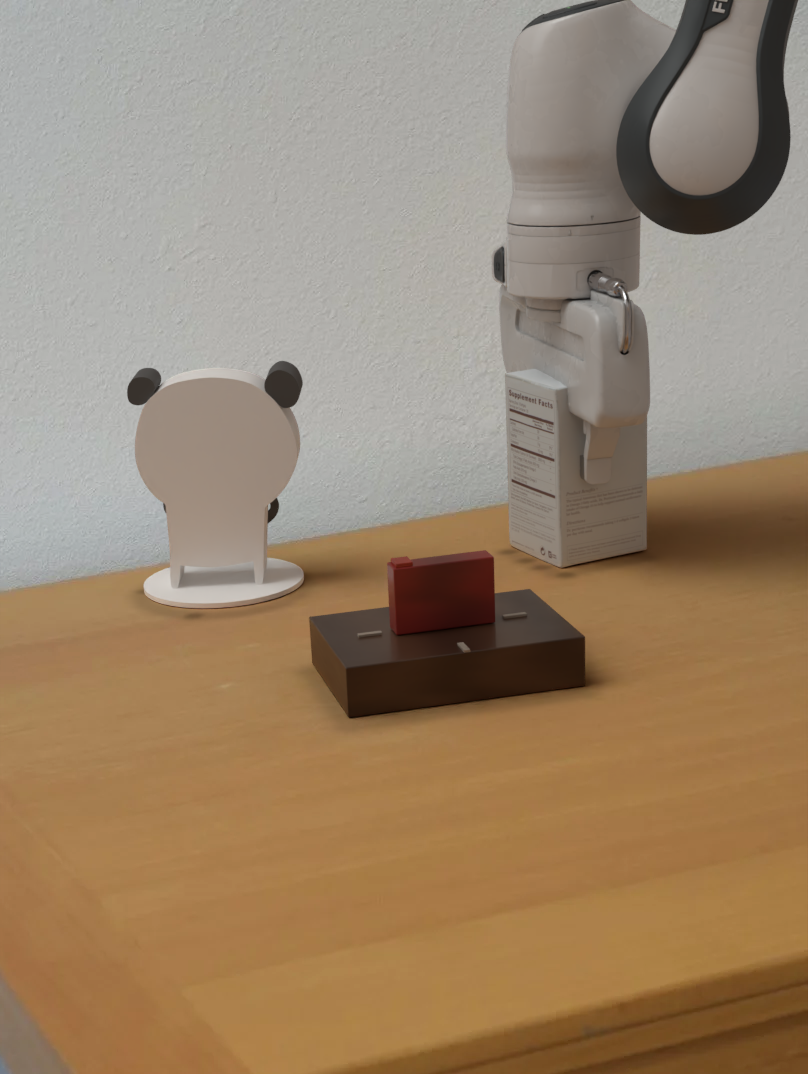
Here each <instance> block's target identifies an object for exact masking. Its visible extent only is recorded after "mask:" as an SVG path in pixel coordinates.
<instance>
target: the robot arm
mask: <svg viewBox="0 0 808 1074" xmlns="http://www.w3.org/2000/svg"><path fill="white" fill-rule="evenodd" d="M798 2H799V0H685V1H684V6H683V8H682V12H681V15H680V19H679V21H678V24H677V27H676V29H675V28H674V27H672V26H670V25H668V24H666V23H664V22H662V21H660V20H658V19H656V18H655V17H654V16H652V15H650V14H648V13H646V12H645V11H643V10H642V9H641V8H639V6H637V5H636V4H635V3H634V2H633V1H632V0H589V1H584V2H581V3H577V4H572V5H570V6H566V7H562V8H557V9H554V10H552V11H549V12H547V13H542V14H540V15H538V16H537V17H535V18H534V19H532V20H531V21H530V22H528V23H527V24H526V25H525V26H524V27H523V28H522V29H521V32H520V33H518V35H517V36H516V39H515V40H514V43H513V46H512V49H511V54H510V60H509V61H510V62H509V66H508V67H509V68H508V74H507V87H506V108H505V115H506V116H505V155H506V159H507V164H508V166H509V170H510V175H511V195H510V196H511V197H510V200H509V203H508V208H507V213H506V237H505V238H504V241H503V242H501V244H500V245H499V246H497V247H496V248H495V249H494V250H492V254H491V276H492V279H493V280H494V281H495V282H497V283H499V284H500V286H499V290H498V313H499V314H498V315H499V317H498V318H499V330H500V331H499V332H500V343H501V356H502V361H503V366H504V369H505V373H510V372H517V371H523V370H529V369H537V370H539V371H541V372H543V373H545V374H547V375H549V376H551V377H552V378H554V379H556V380H557V381H559V382H561V383H562V384H564V385H565V386H566V387H567V405H568V410H569V412H570V413H571V414H573V415H575V416H577V417H579V418H581V419H582V420H583V432H584V434H586V442H585V449H584V455H580V477H581V478H582V479H583V480H584V481H586V482H587V483H589V484H591V485H595V484H604V483H608V482H609V481H610V480H611V477H612V457H613V454H614V451H615V448H616V445H617V443H618V440H619V437H620V427H624V426H632V425H638V424H642V423H643V422H644V421H645V419H646V417H647V418H648V414H649V411H650V406H651V377H650V376H651V373H650V372H651V371H650V349H649V334H648V326H647V321H646V317H645V314H644V312H643V310H642V309H641V307H640V306H638V305H637V304H635V303H634V301H633V300H632V299H630V295H629V293H630V292H633V291H635V290H637V289H639V287H640V275H641V273H640V272H641V271H640V270H641V268H640V267H641V266H640V265H641V220H642V219H641V218H642V217H641V215H643V216H645V217H646V218H647V219H648V220H650V221H651V222H653V223H655V224H656V225H658V226H660V227H662V228H663V229H666V230H668V231H671V232H675V233H679V234H684V235H696V236H697V235H699V236H700V235H703V236H704V235H711V234H716V233H720V232H723V231H724V232H725V231H727V230H730V229H732V228H734V227H737V226H738V225H741V224H742V223H744V222H745V221H747V220H748V219H750V218H751V217H752V216H754V215H755V214H756V213H757V212H759V211H760V210H761V209H762V208H763V207H764V206H765V205H766V203H767V202H768V201H769V200H770V199H771V198H772V196H773V195H774V193H775V192H776V190H777V188H778V187H779V185H780V183H781V181H782V180H783V177H784V174H785V171H786V168H787V165H788V162H789V159H790V158H789V157H790V150H791V122H790V108H789V103H788V99H787V95H786V88H785V61H786V55H787V54H786V53H787V47H788V42H789V38H790V34H791V33H790V32H791V28H792V24H793V20H794V17H795V14H796V10H797V8H798V7H797V6H798Z"/></svg>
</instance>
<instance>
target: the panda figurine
mask: <svg viewBox="0 0 808 1074" xmlns="http://www.w3.org/2000/svg"><path fill="white" fill-rule="evenodd" d="M303 383H304V381H303V378H302V375H301V372H300V370H299V369H298V367H297V366H296V365H294V364H293V363H291V362H290V361H287V360H279V361H277V362H275V363H274V364H273V365H272V366H271V367H270V368H269V369H268V372H267V374H266V378H263V377H262V376H260V375H258V374H256V373H255V372H252V371H248V370H244V369H240V368H232V367H205V368H197V369H191V370H187V371H183V372H179V373H177V374H174V375H173V376H170V377H168V378H167V379H165V380H164V381H163V382H162V376H161V373H160V372H159V370H157V369H156V368H153V367H143V368H141V369H139V370H138V371H137V372H136V373H135V374H134V376H133V377H132V379H131V380H130V381H129V383H128V384H127V388H126V390H127V391H126V396H127V400H128V402H129V403H130V404H131V405H133V406H143V405H144V406H143V407H142V409H141V412H140V415H139V419H138V422H137V427H136V430H135V431H136V432H135V439H134V458H135V463H136V467H137V470H138V473H139V476H140V478H141V480H142V481H143V483H144V485H145V487H146V489H148V491H149V492H150V493H151V495H153V496H154V498H156V499H158V501H160V502H161V503H162V506H163V511H164V513H165V515H166V525H167V535H168V547H169V548H168V550H169V567H165V568H163V569H161V570H158V571H156V572H154V573H153V574H152V575H150V576H149V577H147V578H146V579H145V580H144V582H143V593H144V595H145V596H146V597H147V598H148V599H149V600H151V601H154V602H155V603H158V604H162V605H165V606H171V607H176V608H187V609H222V608H234V607H241V606H248V605H253V604H259V603H264V602H267V601H271V600H274V599H278V598H280V597H283V596H286V595H288V594H290V593H292V592H294V591H295V590H297V589H298V588H300V587H301V586H302V585H303V584H304V580H305V573H304V572H305V571H304V570H303V569H302V568H301V566H299V565H298V564H296V563H293V562H291V561H288V560H285V559H280V558H274V557H268V529H269V528H268V526H269V524H270V523H271V522H272V521H273V520H274V519H275V518H276V517H277V515H278V513H279V509H280V502H279V499H278V497H279V496H280V495H281V493H282V492H283V491H284V490H285V488H286V487H287V485H288V484H289V483H290V481H291V478H292V477H293V474H294V472H295V470H296V467H297V463H298V459H299V456H300V450H301V434H300V429H299V425H298V422H297V419H296V416H295V414H294V413H293V410H292V409H291V408H292V407H294V406H295V405H296V404H297V403H298V402H299V399H300V395H301V393H302V390H303V389H302V388H303Z"/></svg>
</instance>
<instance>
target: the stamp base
mask: <svg viewBox="0 0 808 1074" xmlns="http://www.w3.org/2000/svg"><path fill="white" fill-rule="evenodd" d="M308 621H309V637H310V650H311V653H310V654H311V663H312V665H313V666H314V668H315V669H316V670H317V672H318V674H319V675H320V677H321V678H322V680H323V681H324V683H325V684H326V686H327V687H328V688H329V691H330V692H331V693H332V695H333V696H334V698H335V699H336V701H337V702H338V704H339V705H340V707H341V708H342V710H343V711H344V712H345V714H346V715H347V717H348V718H355V717H356V718H357V717H364V716H370V715H379V714H384V713H386V714H387V713H393V712H399V711H407V710H408V711H409V710H414V709H422V708H428V707H437V706H443V705H444V706H445V705H450V704H451V705H453V704H459V703H460V704H461V703H466V702H473V701H481V700H488V699H495V698H503V697H510V696H518V695H525V694H532V693H540V692H541V693H542V692H548V691H554V690H561V689H570V688H576V687H577V688H578V687H585V686H586V636H585V635H584V634H582V632H581V631H579V630H578V629H577V628H576V627H574V625H572V624H571V623H570V622H569V621H568V620H566V619H565V617H563V616H562V615H561V614H560V613H559V612H557V611H556V610H555V609H554V608H553V607H551V606H550V605H549V604H548V603H547V602H546V601H544V600H543V598H541V597H540V596H539V595H537V594H536V593H535V591H533V590H532V589H531V588H526V589H525V588H524V589H519V590H509V591H502V592H495V622H494V623H487V624H479V625H472V626H464V627H456V628H448V629H441V630H433V631H425V632H418V633H410V634H402V635H396V634H395V632H394V631H393V630H392V629H391V628H390V616H389V606H385V607H377V608H376V607H375V608H368V609H361V610H352V611H345V612H337V613H329V614H320V615H313V616H309V617H308Z"/></svg>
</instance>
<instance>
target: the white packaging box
mask: <svg viewBox="0 0 808 1074" xmlns="http://www.w3.org/2000/svg"><path fill="white" fill-rule="evenodd" d="M504 384H505V385H504V387H505V388H504V389H505V426H506V427H505V428H506V429H505V430H506V457H507V458H506V460H507V461H506V463H507V501H508V540H509V544H510V545H509V546H511V547H512V548H514V549H517V550H519V551H521V552H523V553H525V554H528V555H530V556H532V557H534V558H536V559H539V560H540V561H543V562H545V563H547V564H550V565H552V566H554V567H556V568H561V569H562V568H567V567H570V566H575V565H578V564H584V563H589V562H593V561H598V560H603V559H609V558H612V557H617V556H618V557H619V556H622V555H627V554H632V553H637V552H641V551H645V550H647V549H648V416H647V417H646V419H645V421H644V422H643V423H642V424H638V425H632V426H624V427H620V437H619V440H618V443H617V445H616V448H615V451H614V454H613V457H612V477H611V480H610V481H609V482H608V483H604V484H595V485H591V484H589V483H587V482H586V481H584V480H583V479H582V478H581V477H580V455H584V449H585V442H586V434H584V432H583V420H582V419H581V418H579V417H577V416H575V415H573V414H571V413H570V412H569V410H568V405H567V387H566V386H565V385H564V384H562V383H561V382H559V381H557V380H556V379H554V378H552V377H551V376H549V375H547V374H545V373H543V372H541V371H539V370H537V369H529V370H523V371H517V372H510V373H507V372H505V373H504Z"/></svg>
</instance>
